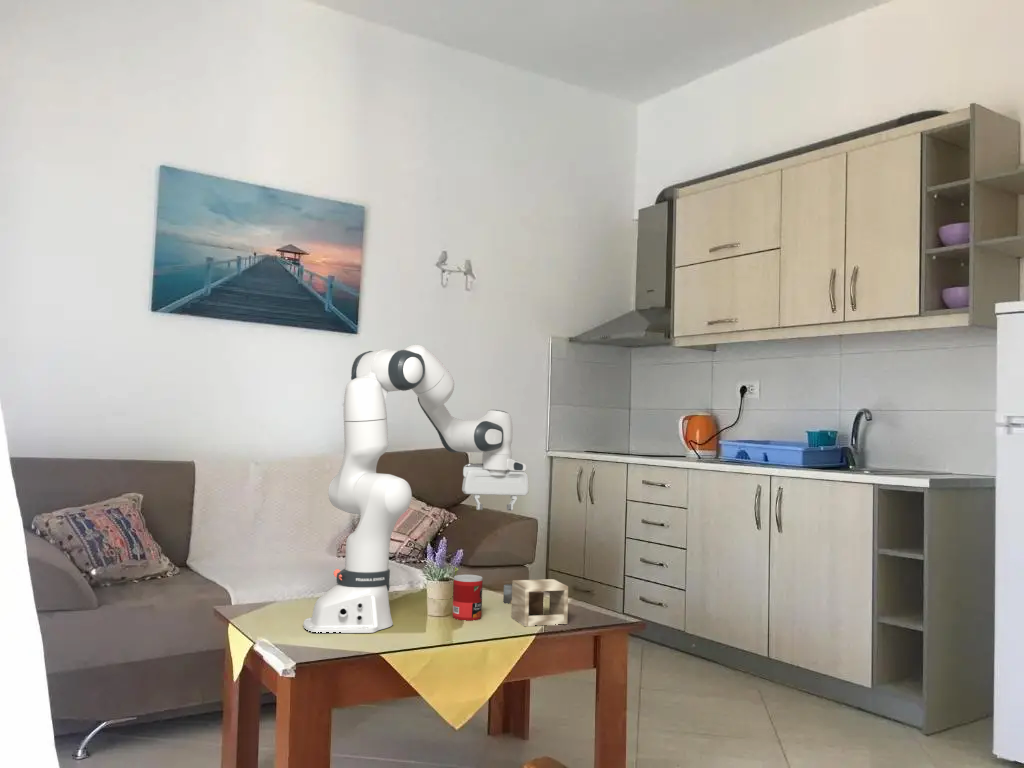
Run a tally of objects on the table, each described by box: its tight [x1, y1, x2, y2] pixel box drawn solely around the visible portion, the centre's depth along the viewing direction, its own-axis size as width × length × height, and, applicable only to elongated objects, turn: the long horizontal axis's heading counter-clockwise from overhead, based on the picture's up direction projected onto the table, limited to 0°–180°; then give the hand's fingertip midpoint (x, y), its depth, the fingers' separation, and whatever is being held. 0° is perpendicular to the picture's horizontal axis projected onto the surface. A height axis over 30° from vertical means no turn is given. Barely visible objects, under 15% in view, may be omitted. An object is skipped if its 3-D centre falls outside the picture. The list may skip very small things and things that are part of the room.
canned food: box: [452, 574, 483, 622], centre depth 231 cm, size 8×8×11 cm
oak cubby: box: [511, 578, 569, 627], centre depth 230 cm, size 12×11×10 cm
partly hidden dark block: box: [502, 583, 545, 615], centre depth 246 cm, size 6×20×6 cm, turn 22°
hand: (494, 510), depth 257 cm, fingers open, 8 cm apart
